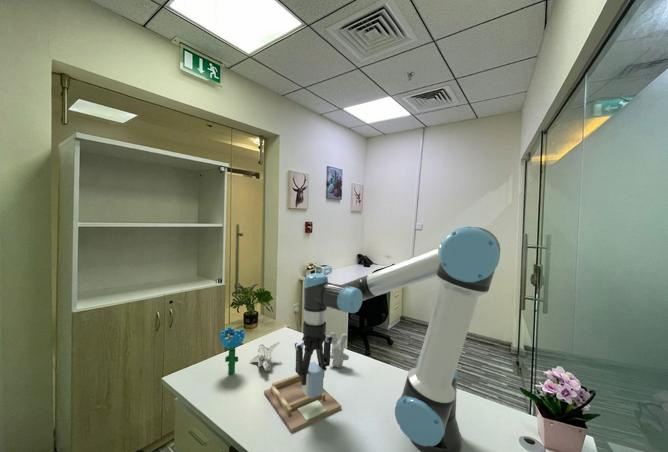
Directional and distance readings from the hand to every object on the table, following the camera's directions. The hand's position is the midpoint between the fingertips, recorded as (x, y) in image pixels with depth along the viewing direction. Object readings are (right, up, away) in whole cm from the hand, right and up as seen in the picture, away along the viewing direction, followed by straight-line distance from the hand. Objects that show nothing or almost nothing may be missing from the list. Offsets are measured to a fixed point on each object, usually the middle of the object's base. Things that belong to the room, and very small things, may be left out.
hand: (312, 390), depth 89 cm
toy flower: (-35, -7, +22) cm, 42 cm away
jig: (-4, -8, +6) cm, 11 cm away
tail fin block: (0, 0, 0) cm, 0 cm away
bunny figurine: (+9, -8, +29) cm, 31 cm away
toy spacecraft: (-16, +1, +27) cm, 32 cm away
